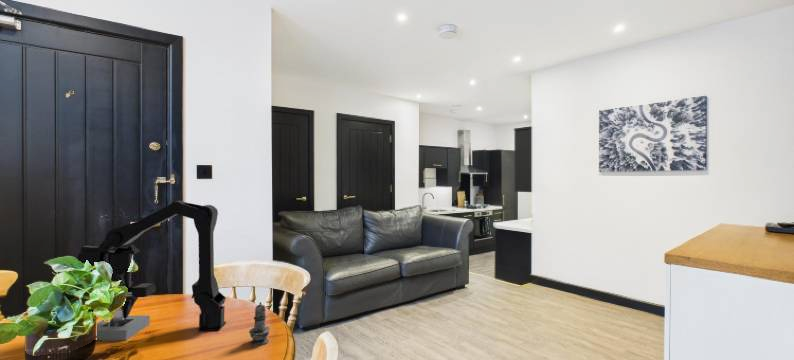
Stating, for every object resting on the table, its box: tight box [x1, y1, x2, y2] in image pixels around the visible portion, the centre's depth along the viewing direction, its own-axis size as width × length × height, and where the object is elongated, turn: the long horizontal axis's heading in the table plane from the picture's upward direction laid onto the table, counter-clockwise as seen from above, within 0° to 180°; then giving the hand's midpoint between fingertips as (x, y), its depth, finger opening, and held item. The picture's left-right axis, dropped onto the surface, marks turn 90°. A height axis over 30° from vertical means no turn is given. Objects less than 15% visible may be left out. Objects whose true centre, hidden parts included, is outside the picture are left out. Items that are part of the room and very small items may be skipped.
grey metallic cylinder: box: [110, 306, 126, 327], centre depth 113 cm, size 4×4×8 cm
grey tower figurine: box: [248, 301, 271, 347], centre depth 109 cm, size 6×6×12 cm
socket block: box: [96, 315, 151, 342], centre depth 113 cm, size 12×12×3 cm
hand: (118, 317), depth 113 cm, fingers closed on grey metallic cylinder, 4 cm apart
